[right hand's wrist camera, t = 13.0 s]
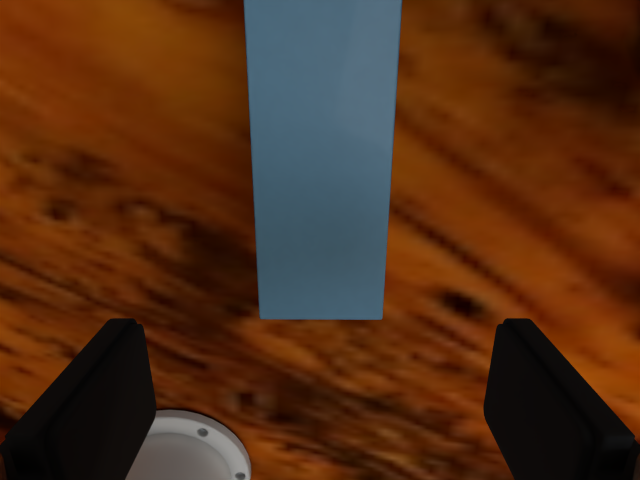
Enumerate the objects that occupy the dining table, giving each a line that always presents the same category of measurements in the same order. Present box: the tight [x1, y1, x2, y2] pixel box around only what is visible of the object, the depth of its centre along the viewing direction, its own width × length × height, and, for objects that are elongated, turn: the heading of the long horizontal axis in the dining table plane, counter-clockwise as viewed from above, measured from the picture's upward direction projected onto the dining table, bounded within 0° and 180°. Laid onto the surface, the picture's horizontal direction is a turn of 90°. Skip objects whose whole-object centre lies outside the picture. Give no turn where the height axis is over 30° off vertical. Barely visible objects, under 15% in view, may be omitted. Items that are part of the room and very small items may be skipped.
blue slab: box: [244, 0, 402, 320], centre depth 21 cm, size 21×6×11 cm, turn 0°
